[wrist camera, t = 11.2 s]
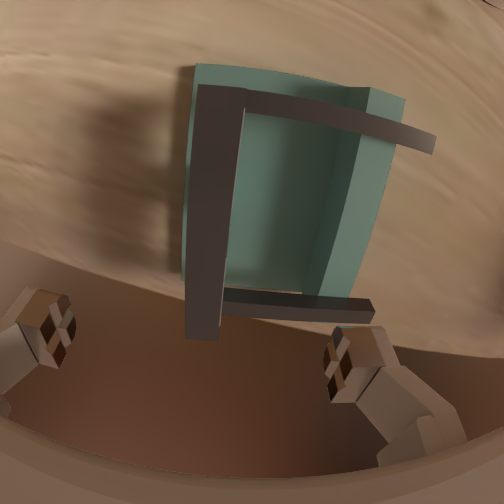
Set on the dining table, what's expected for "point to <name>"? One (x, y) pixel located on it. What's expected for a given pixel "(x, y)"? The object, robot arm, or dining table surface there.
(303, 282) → the display stand
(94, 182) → the dining table surface
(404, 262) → the dining table surface
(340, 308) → the glasses frame
